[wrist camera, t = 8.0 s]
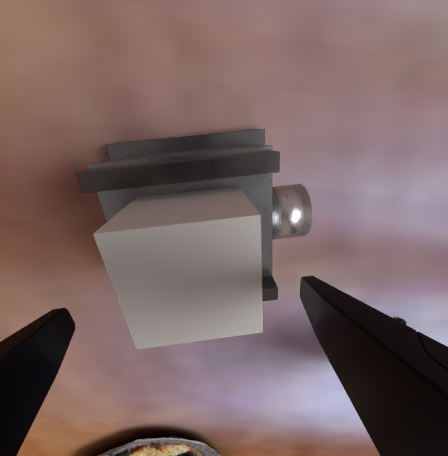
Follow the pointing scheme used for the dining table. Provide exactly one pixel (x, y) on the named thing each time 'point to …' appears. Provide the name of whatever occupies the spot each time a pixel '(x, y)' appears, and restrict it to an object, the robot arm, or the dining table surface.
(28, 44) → the dining table surface
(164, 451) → the food plate
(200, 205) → the plain white cube
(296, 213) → the motor housing
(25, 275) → the dining table surface
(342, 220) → the dining table surface
